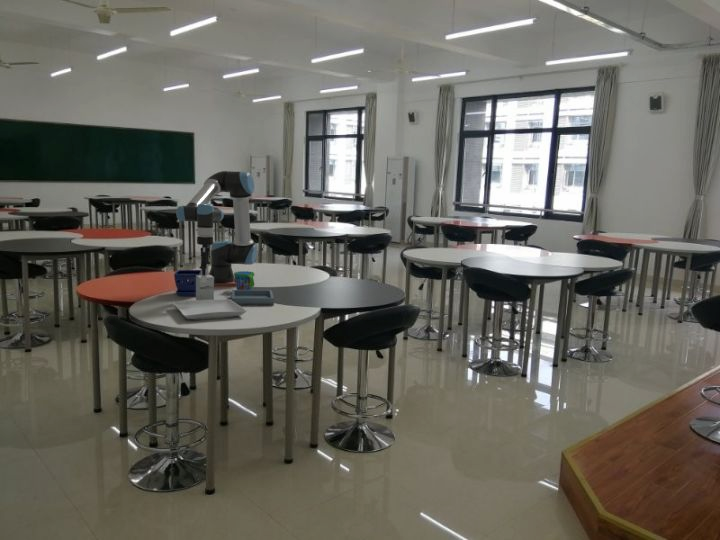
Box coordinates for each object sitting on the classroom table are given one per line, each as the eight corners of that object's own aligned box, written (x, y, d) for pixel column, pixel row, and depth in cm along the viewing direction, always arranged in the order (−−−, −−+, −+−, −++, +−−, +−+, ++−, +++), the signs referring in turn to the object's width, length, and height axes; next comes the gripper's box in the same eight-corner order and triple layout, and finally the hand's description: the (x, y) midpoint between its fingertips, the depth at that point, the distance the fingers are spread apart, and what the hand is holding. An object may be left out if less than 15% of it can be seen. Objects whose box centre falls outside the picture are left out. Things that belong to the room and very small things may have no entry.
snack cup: (228, 289, 300) (228, 271, 299) (245, 287, 307) (246, 269, 305) (241, 294, 288) (242, 275, 287) (259, 292, 295) (260, 274, 293)
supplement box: (198, 303, 265) (198, 277, 263) (195, 300, 271) (195, 274, 269) (214, 302, 268) (214, 277, 266) (210, 299, 274) (210, 274, 272)
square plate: (247, 318, 242) (247, 310, 242) (183, 323, 229) (183, 314, 228) (229, 305, 265) (229, 297, 265) (170, 309, 252) (170, 301, 251)
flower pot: (173, 297, 275) (173, 273, 273) (176, 291, 288) (176, 269, 286) (200, 297, 278) (200, 274, 276) (203, 291, 291) (203, 269, 289)
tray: (232, 296, 283) (232, 289, 282) (271, 296, 287) (271, 290, 287) (231, 305, 264) (231, 298, 263) (273, 305, 268) (273, 298, 267)
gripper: (198, 233, 276) (198, 275, 279) (194, 238, 251) (194, 283, 255) (214, 234, 277) (213, 275, 280) (211, 238, 253) (211, 284, 256)
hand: (204, 279), depth 267 cm, fingers open, 13 cm apart
